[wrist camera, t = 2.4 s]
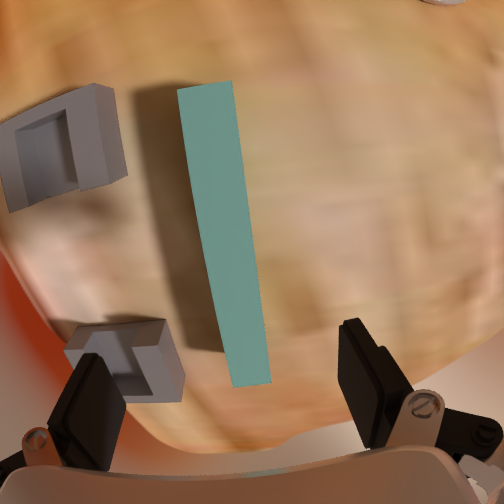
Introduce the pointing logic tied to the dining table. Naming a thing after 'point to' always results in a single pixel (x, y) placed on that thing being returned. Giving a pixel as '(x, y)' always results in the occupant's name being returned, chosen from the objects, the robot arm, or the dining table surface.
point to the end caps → (83, 177)
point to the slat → (225, 226)
